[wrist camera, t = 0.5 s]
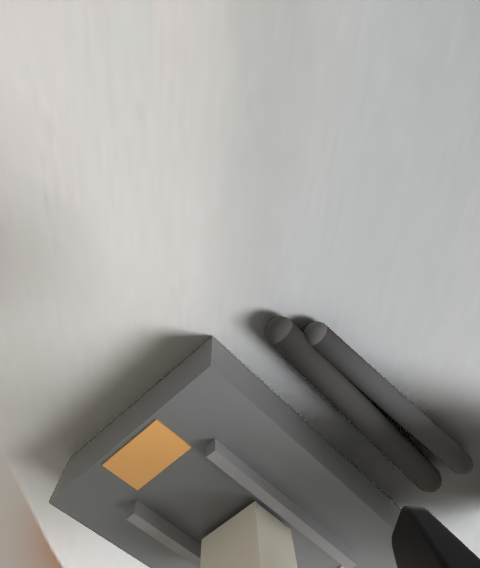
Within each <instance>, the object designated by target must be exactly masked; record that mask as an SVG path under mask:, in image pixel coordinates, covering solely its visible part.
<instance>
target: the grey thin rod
mask: <svg viewBox="0 0 480 568" xmlns="http://www.w3.org/2000/svg"><path fill="white" fill-rule="evenodd" d="M304 335H305V337H306V339H307V341H308V342H309V344H310V345H311V346H312V347H313V348H314V349H315V350H316V351H317V352H319V353H320V354H321V355H322V356H323V357H324V358H325V359H326V360H327V361H328V362H329V363H330V364H331V365H333V366H334V367H335V368H336V369H337V370H338V371H339V372H340V373H341V374H342V375H343V376H345V377H346V378H347V379H348V380H349V381H350V382H351V383H353V384H354V385H355V386H356V387H357V388H358V389H359V390H361V391H362V392H363V393H364V394H365V395H366V396H367V397H369V398H370V399H371V400H372V401H373V402H374V403H375V404H377V405H378V406H379V407H380V408H381V409H382V410H384V411H385V412H386V413H387V414H388V415H389V416H390V417H392V418H393V419H394V420H395V421H396V422H397V423H398V424H400V425H401V426H402V427H403V428H404V429H405V430H407V431H408V432H409V433H410V434H411V435H412V436H413V437H415V438H416V439H417V440H418V441H419V442H420V443H421V444H423V445H424V446H425V447H426V448H427V449H428V450H430V451H431V452H432V453H433V454H434V455H435V456H436V457H438V458H439V459H440V460H441V461H442V462H443V463H444V464H446V465H447V466H448V467H449V468H450V469H451V470H453V471H454V472H456V473H458V474H467V473H469V472H470V471H471V469H472V467H473V462H472V459H471V457H470V456H469V454H468V453H467V452H465V451H464V450H463V449H462V448H461V447H460V446H459V445H458V444H457V443H456V442H454V441H453V440H452V439H451V438H450V437H449V436H448V435H447V434H446V433H444V432H443V431H442V430H441V429H440V428H439V427H438V426H437V425H436V424H435V423H433V422H432V421H431V420H430V419H429V418H428V417H427V416H426V415H425V414H424V413H422V412H421V411H420V410H419V409H418V408H417V407H416V406H415V405H414V404H412V403H411V402H410V401H409V400H408V399H407V398H406V397H405V396H404V395H403V394H401V393H400V392H399V391H398V390H397V389H396V388H395V387H394V386H393V385H391V384H390V383H389V382H388V381H387V380H386V379H385V378H384V377H383V376H382V375H380V374H379V373H378V372H377V371H376V370H375V369H374V368H373V367H372V366H371V365H369V364H368V363H367V362H366V361H365V360H364V359H363V358H362V357H361V356H359V355H358V354H357V353H356V352H355V351H354V350H353V349H352V348H351V347H350V346H348V345H347V344H346V343H345V342H344V341H343V340H342V339H341V338H340V337H339V336H337V335H336V334H335V333H334V332H333V331H332V330H331V329H330V328H329V327H327V326H326V325H325V324H324V323H322V322H311V323H310V324H308V325H307V326H306V327H305V329H304Z"/></svg>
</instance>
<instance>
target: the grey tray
mask: <svg viewBox="0 0 480 568" xmlns="http://www.w3.org/2000/svg"><path fill="white" fill-rule="evenodd" d="M254 501H255V502H257V503H258V504H259V505H261V506H262V507H263V508H264V509H266V510H267V511H268V512H269V513H271V514H272V515H273V516H274V517H276V518H277V519H278V520H280V521H281V522H282V523H283V524H285V525H286V526H287V527H288V528H290V529H291V533H292V539H293V544H294V550H295V556H296V561H297V567H298V568H397V565H396V561H395V557H394V553H393V548H392V533H393V530H394V527H395V525H396V522H397V519H398V516H399V513H400V511H401V510H400V508H399V507H398V506H397V505H396V504H394V503H393V502H392V501H391V500H390V499H389V498H388V497H387V496H386V495H385V494H384V493H383V492H381V491H380V490H379V489H378V488H377V487H376V486H375V485H374V484H373V483H372V482H371V481H369V480H368V479H367V478H366V477H365V476H364V475H363V474H362V473H361V472H360V471H359V470H358V469H356V468H355V467H354V466H353V465H352V464H351V463H350V462H349V461H348V460H347V459H346V458H345V457H343V456H342V455H341V454H340V453H339V452H338V451H337V450H336V449H335V448H334V447H333V446H332V445H330V444H329V443H328V442H327V441H326V440H325V439H324V438H323V437H322V436H321V435H320V434H319V433H317V432H316V431H315V430H314V429H313V428H312V427H311V426H310V425H309V424H308V423H307V422H306V421H304V420H303V419H302V418H301V417H300V416H299V415H298V414H297V413H296V412H295V411H294V410H293V409H291V408H290V407H289V406H288V405H287V404H286V403H285V402H284V401H283V400H282V399H281V398H280V397H278V396H277V395H276V394H275V393H274V392H273V391H272V390H271V389H270V388H269V387H268V386H267V385H265V384H264V383H263V382H262V381H261V380H260V379H259V378H258V377H257V376H256V375H255V374H254V373H252V372H251V371H250V370H249V369H248V368H247V367H246V366H245V365H244V364H243V363H242V362H240V361H239V360H238V359H237V358H236V357H235V356H234V355H233V354H232V353H231V352H230V351H229V350H227V349H226V348H225V347H224V346H223V345H222V344H221V343H220V342H219V341H218V340H217V339H216V338H214V337H213V336H212V337H210V338H209V339H208V340H207V341H206V342H205V343H203V344H202V345H201V346H200V347H199V348H198V349H197V350H195V351H194V352H193V353H192V354H191V355H190V356H188V357H187V358H186V359H185V360H184V361H183V362H181V363H180V364H179V365H178V366H177V367H176V368H175V369H173V370H172V371H171V372H170V373H169V374H168V375H166V376H165V377H164V378H163V379H162V380H161V381H159V382H158V383H157V384H156V385H155V386H154V387H152V388H151V389H150V390H149V391H148V392H147V393H146V394H144V395H143V396H142V397H141V398H140V399H139V400H137V401H136V402H135V403H134V404H133V405H132V406H130V407H129V408H128V409H127V410H126V411H125V412H124V413H122V414H121V415H120V416H119V417H118V418H117V419H115V420H114V421H113V422H112V423H111V424H110V425H108V426H107V427H106V428H105V429H104V430H103V431H101V432H100V433H99V434H98V435H97V436H96V437H95V438H93V439H92V440H91V441H90V442H89V443H88V444H86V445H85V446H84V447H83V448H82V449H81V450H79V451H78V452H77V453H76V454H75V455H74V456H73V457H71V458H70V459H69V461H68V463H67V465H66V467H65V470H64V472H63V474H62V476H61V478H60V480H59V482H58V484H57V486H56V488H55V490H54V492H53V494H52V496H51V498H50V500H49V503H50V504H52V505H53V506H55V507H56V508H58V509H59V510H61V511H63V512H64V513H66V514H67V515H69V516H70V517H72V518H73V519H75V520H77V521H78V522H80V523H81V524H83V525H84V526H86V527H88V528H89V529H91V530H92V531H94V532H95V533H97V534H98V535H100V536H102V537H103V538H105V539H106V540H108V541H109V542H111V543H112V544H114V545H116V546H117V547H119V548H120V549H122V550H123V551H125V552H126V553H128V554H130V555H131V556H133V557H134V558H136V559H137V560H139V561H140V562H142V563H144V564H145V565H147V566H148V567H150V568H200V559H201V541H202V539H203V538H204V537H206V536H207V535H208V534H210V533H211V532H213V531H214V530H215V529H217V528H218V527H220V526H221V525H222V524H224V523H225V522H227V521H228V520H229V519H231V518H232V517H234V516H235V515H236V514H238V513H239V512H240V511H242V510H243V509H245V508H246V507H247V506H249V505H250V504H252V503H253V502H254Z"/></svg>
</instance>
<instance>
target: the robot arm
mask: <svg viewBox="0 0 480 568" xmlns="http://www.w3.org/2000/svg"><path fill="white" fill-rule="evenodd" d="M392 548H393V553H394V557H395V561H396V565H397V568H480V559H479V558H478V557H477V556H476V555H475V554H474V553H473V552H472V551H471V550H469V549H468V548H467V547H466V546H465V545H464V544H463V543H462V542H461V541H460V540H459V539H458V538H457V537H456V536H455V535H453V534H452V533H451V532H450V531H449V530H448V529H447V528H446V527H445V526H444V525H443V524H442V523H441V522H440V521H438V520H437V519H436V518H435V517H434V516H433V515H432V514H431V513H430V512H429V511H428V510H426V509H425V508H423V507H415V506H404V507H403V508H402V509H401V511H400V513H399V516H398V519H397V522H396V525H395V527H394V530H393V533H392Z"/></svg>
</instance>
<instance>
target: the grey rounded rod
mask: <svg viewBox="0 0 480 568" xmlns="http://www.w3.org/2000/svg"><path fill="white" fill-rule="evenodd" d="M265 335H266V338H267V340H268V341H269V343H270V344H271V345H272V346H273V347H275V348H276V349H277V350H278V351H279V352H280V353H281V354H282V355H283V356H284V357H285V358H286V359H287V360H288V361H289V362H290V363H291V364H292V365H293V366H294V367H295V368H296V369H297V370H298V371H299V372H300V373H301V374H302V375H303V376H304V377H305V378H306V379H307V380H308V381H309V382H310V383H312V384H313V385H314V386H315V387H316V388H317V389H318V390H319V391H320V392H321V393H322V394H323V395H324V396H325V397H326V398H327V399H328V400H329V401H330V402H331V403H332V404H333V405H334V406H335V407H336V408H337V409H338V410H339V411H340V412H341V413H342V414H343V415H344V416H345V417H346V418H348V419H349V420H350V421H351V422H352V423H353V424H354V425H355V426H356V427H357V428H358V429H359V430H360V431H361V432H362V433H363V434H364V435H365V436H366V437H367V438H368V439H369V440H370V441H371V442H372V443H373V444H374V445H375V446H376V447H377V448H378V449H379V450H380V451H381V452H382V453H384V454H385V455H386V456H387V457H388V458H389V459H390V460H391V461H392V462H393V463H394V464H395V465H396V466H397V467H398V468H399V469H400V470H401V471H402V472H403V473H404V474H405V475H406V476H407V477H408V478H409V479H410V480H411V481H412V482H413V483H414V484H415V485H416V486H417V487H418V488H420V489H421V490H423V491H425V492H435V491H436V490H438V489H439V487H440V486H441V476H440V473H439V472H438V470H437V469H436V468H435V467H434V466H433V465H432V464H431V463H430V462H429V461H428V460H427V459H426V458H425V457H424V456H423V455H422V454H421V453H420V452H419V451H418V450H417V449H416V448H415V447H414V446H413V445H412V444H411V443H410V442H409V441H408V439H407V438H406V437H405V436H404V435H403V434H402V433H401V432H400V431H399V430H398V429H397V428H396V427H395V426H394V425H393V424H392V423H391V422H390V421H389V420H388V419H387V418H386V417H385V416H384V415H383V414H382V413H381V412H380V411H379V410H378V409H377V408H376V407H375V406H374V405H373V404H372V403H371V402H370V401H369V400H368V399H367V398H366V397H365V396H364V395H363V394H362V393H361V392H360V390H359V389H358V388H357V387H356V386H355V385H354V384H353V383H351V382H350V381H349V380H348V379H347V378H346V377H345V376H343V375H342V374H341V373H340V372H339V371H338V370H337V369H336V368H335V367H334V366H333V365H331V364H330V363H329V362H328V361H327V360H326V359H325V358H324V357H323V356H322V355H321V354H320V353H319V352H317V351H316V350H315V349H314V348H313V347H312V346H311V345H310V344H309V342H308V341H307V339H306V337H305V335H304V333H303V332H302V331H301V330H300V329H299V328H298V327H297V326H296V325H295V324H294V323H293V322H292V321H291V320H290V319H288V318H286V317H282V316H279V317H275V318H273V319H271V320H270V321H269V322H268V323H267V325H266V329H265Z"/></svg>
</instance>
